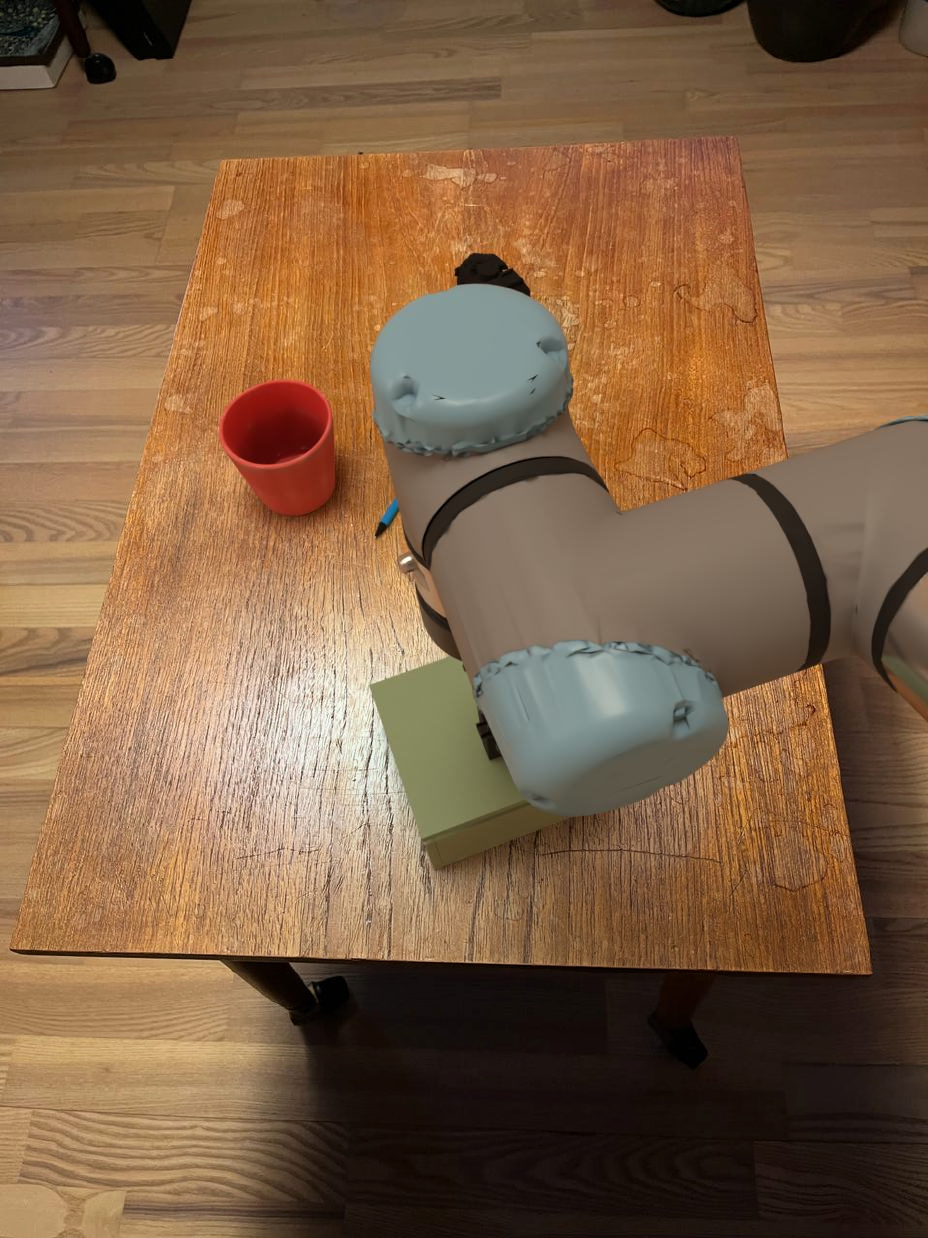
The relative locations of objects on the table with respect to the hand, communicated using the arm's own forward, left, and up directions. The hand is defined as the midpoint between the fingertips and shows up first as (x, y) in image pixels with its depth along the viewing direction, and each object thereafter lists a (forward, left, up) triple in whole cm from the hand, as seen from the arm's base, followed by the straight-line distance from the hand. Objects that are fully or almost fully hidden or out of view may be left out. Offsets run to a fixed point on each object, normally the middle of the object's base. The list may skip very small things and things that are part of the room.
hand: (503, 745), depth 66 cm
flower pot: (+38, +8, -10) cm, 40 cm away
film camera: (+48, -16, -10) cm, 51 cm away
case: (+3, 0, -10) cm, 10 cm away
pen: (+35, -4, -10) cm, 36 cm away
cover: (+2, 0, -2) cm, 3 cm away
